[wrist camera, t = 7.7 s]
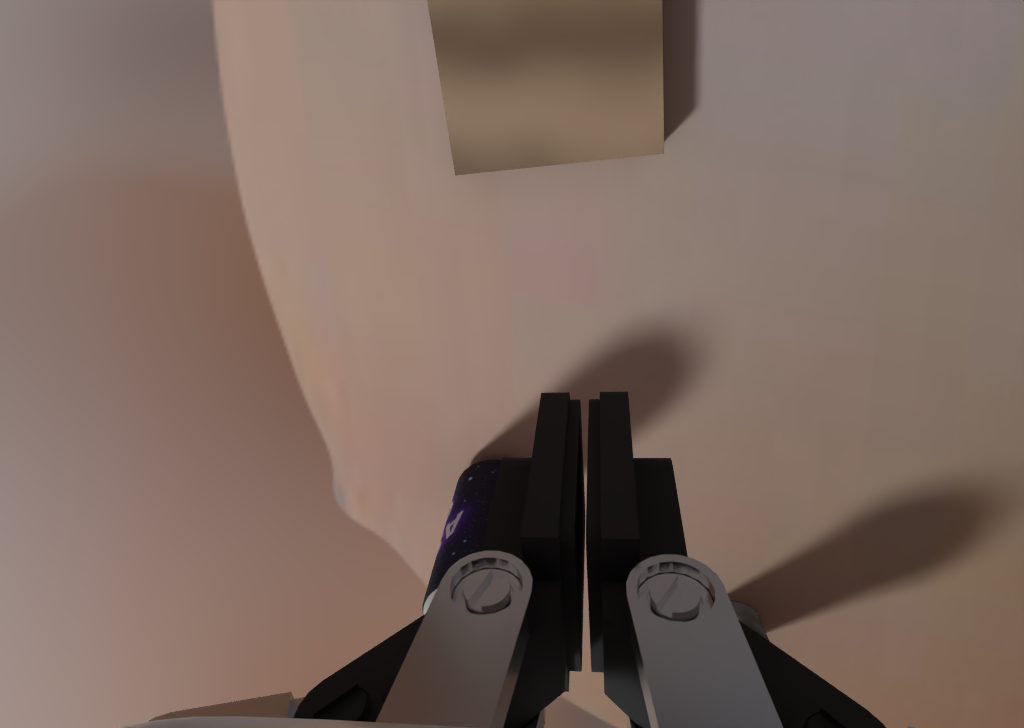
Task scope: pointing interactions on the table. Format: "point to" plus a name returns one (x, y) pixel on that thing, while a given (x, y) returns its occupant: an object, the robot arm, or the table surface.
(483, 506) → the beverage can
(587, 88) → the slotted wooden board
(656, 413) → the table surface
